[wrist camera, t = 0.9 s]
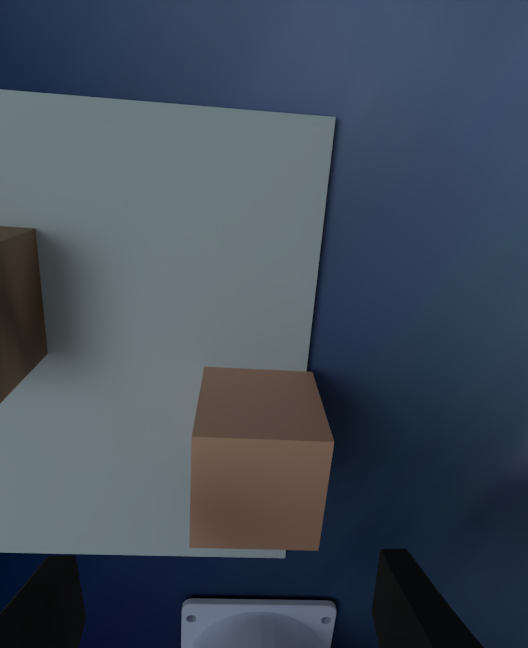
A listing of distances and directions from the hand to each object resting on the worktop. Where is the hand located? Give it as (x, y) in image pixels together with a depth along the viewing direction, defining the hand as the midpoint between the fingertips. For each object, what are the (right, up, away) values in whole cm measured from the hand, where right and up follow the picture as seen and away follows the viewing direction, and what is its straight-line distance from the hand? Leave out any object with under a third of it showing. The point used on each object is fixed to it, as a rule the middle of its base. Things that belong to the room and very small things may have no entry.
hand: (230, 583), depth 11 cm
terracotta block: (0, +2, +9) cm, 9 cm away
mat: (-5, +5, +8) cm, 11 cm away
